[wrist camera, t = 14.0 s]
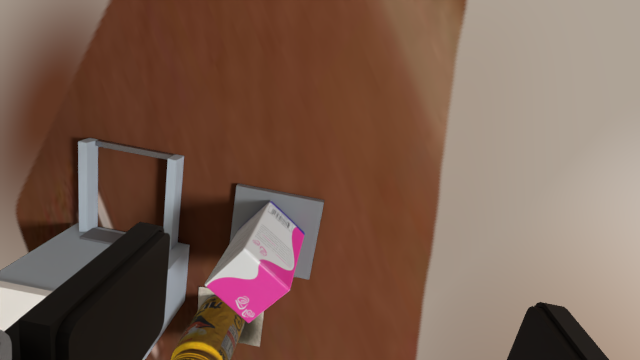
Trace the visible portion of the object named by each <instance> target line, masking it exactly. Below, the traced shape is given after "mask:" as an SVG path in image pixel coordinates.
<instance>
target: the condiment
mask: <svg viewBox="0 0 640 360" xmlns="http://www.w3.org/2000/svg"><path fill="white" fill-rule="evenodd" d="M263 314H264V311H263V312H262V313H261V314H259V315H258V316H257V317H256V318H255V319H253V320H252V321H251V322H250V323H248V322H246V321H245V320H244V319H243V318H242V317H241V316H240V315H238V314H237V313H236V312H235V311H234V310H233V309H232V308H230V307H229V306H228V305H227V304H226V303H225V302H223V301H222V300H221V299H220V298H219V297H218V296H217V295H215V294H214V293H213V292H212V291H211V290H210V289H208V288H205V287H199V293H198V312H197V313H196V315H195V316H194V318H193V320H192V321H191V323H190V325H189V327H188V329H187V330H186V332H185V333H184V335H183V337H182V338H181V340H180V342H179V343H178V345H177V346H176V348H175V349H174V352H173V354H172V357H171V360H231V358H232V355H233V353H234V350H235V348H236V345H237V343H238V342H239V343H245V344H249V345H253V346H260V340H261V332H262V324H263Z"/></svg>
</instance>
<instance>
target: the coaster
mask: <svg viewBox="0 0 640 360" xmlns="http://www.w3.org/2000/svg"><path fill="white" fill-rule="evenodd" d="M269 201H272V202H273V203H274V204H275V205H276V206H277V207H279V208H280V209H281V210H282V211H283V212H284V213H285V214H286V215H287V216H288V217H289V218H290V219H291V220H292V221H293V222H294V223H295V224H296V225H297V226H298V227H299V228H300V229H301V230H302V231H303V232H304V233H305V236H304V239H303V243H302V246H301V250H300V254H299V258H298V261H297V265H296V269H295V272H294V277H299V278H304V279H309V277H310V272H311V267H312V262H313V256H314V251H315V246H316V241H317V236H318V231H319V225H320V220H321V215H322V210H323V205H324V200H321V199H316V198H311V197H306V196H301V195H295V194H290V193H285V192H280V191H275V190H270V189H264V188H259V187H254V186H249V185H244V184H239V183H238V184H237V186H236V193H235V202H234V210H233V219H232V227H231V236H230V243H231V241H232V240H233V238H234V236H235V235H236V233H237V231H238V230H239V229H240V228H241V227H242V226H243V225H244V224H245V223H246V222H247V221H248V220H249V219H251V218H252V217H253V216H254V215H255V214H256V213H257V212H258V211H259V210H260V209H262V208H263V207H264V206H265V205H266V204H267V203H268V202H269Z"/></svg>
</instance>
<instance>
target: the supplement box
mask: <svg viewBox="0 0 640 360" xmlns="http://www.w3.org/2000/svg"><path fill="white" fill-rule="evenodd" d="M304 236H305V233H304V232H303V231H302V230H301V229H300V228H299V227H298V226H297V225H296V224H295V223H294V222H293V221H292V220H291V219H290V218H289V217H288V216H287V215H286V214H285V213H284V212H283V211H282V210H281V209H280V208H279V207H277V206H276V205H275V204H274V203H273V202H272V201H269V202H268V203H267V204H266V205H265V206H264V207H263V208H262V209H260V210H259V211H258V212H257V213H256V214H255V215H254V216H253V217H252V218H251V219H249V220H248V221H247V222H246V223H245V224H244V225H243V226H242V227H241V228H240V229H239V230H238V231H237V233H236V235H235V236H234V238H233V240H232V241H231V243H230V244H229V246H228V248H227V249H226V251H225V252H224V254H223V256H222V257H221V259H220V260H219V262H218V264H217V265H216V267H215V268H214V270H213V272H212V273H211V275H210V276H209V278H208V280H207V281H206V283H205V286H206V287H207V288H208V289H210V290H211V291H212V292H213V293H214V294H215V295H217V296H218V297H219V298H220V299H221V300H222V301H223V302H225V303H226V304H227V305H228V306H229V307H230V308H232V309H233V310H234V311H235V312H236V313H237V314H238V315H240V316H241V317H242V318H243V319H244V320H245V321H246V322H248V323H250V322H251V321H252V320H253V319H255V318H256V317H257V316H258V315H259V314H261V313H262V312H263V311H264V310H266V309H267V308H268V307H269V306H271V305H272V304H273V303H274V302H276V301H277V300H278V299H279V298H281V297H282V296H283V295H285V294H286V293H287V292H288V291H290V288H291V284H292V280H293V276H294V272H295V269H296V265H297V261H298V258H299V254H300V250H301V246H302V243H303V239H304Z"/></svg>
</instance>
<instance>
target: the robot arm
mask: <svg viewBox="0 0 640 360" xmlns="http://www.w3.org/2000/svg"><path fill="white" fill-rule="evenodd" d="M169 248H170V235H169V233H164V228H163V227H162V226H158V225H153V224H148V223H143V222H139V223H137V224H136V225H135V226H134V227H132V228H131V229H130V230H129V231H127V232H126V233H125V234H124V235H122V236H121V237H120V238H119V239H118V240H116V241H115V242H114V243H113V244H111V245H110V246H109V247H108V248H106V249H105V250H104V251H103V252H101V253H100V254H99V255H98V256H96V257H95V258H94V259H93V260H91V261H90V262H89V263H88V264H86V265H85V266H84V267H83V268H81V269H80V270H79V271H78V272H77V273H75V274H74V275H73V276H72V277H70V278H69V279H68V280H67V281H65V282H64V283H63V284H62V285H60V286H59V287H58V288H57V289H55V290H54V291H53V292H52V293H50V294H49V295H48V296H47V297H45V298H44V299H43V300H42V301H40V302H39V303H38V304H37V305H35V306H34V307H33V308H32V309H31V310H29V311H28V312H27V313H26V314H24V315H23V316H22V317H21V318H19V319H18V320H17V321H16V322H15V323H14V324H13V325H11V326H10V327H9V328H8V329H6V330H5V331H2V330H0V360H142V359H143V358H144V356H145V355H146V353H147V352H148V350H149V349H150V348H151V346H152V345H153V343H154V342H155V340H156V339H157V337H158V336H159V334H160V332H161V330H162V327H163V324H164V318H165V304H166V290H167V276H168V262H169ZM507 360H609V359H608V358H607V357H606V355H605V354H604V353H603V352H602V351H601V349H600V348H599V347H598V346H597V345H596V343H595V342H594V341H593V340H592V339H591V337H589V335H588V334H587V333H586V332H585V330H584V329H583V328H582V327H581V326H580V324H579V323H578V322H577V321H576V320H575V318H574V317H573V316H572V315H571V314H570V312H569V311H568V310H567V309H566V308H565V307H562V306H557V305H552V304H547V303H542V302H540V303H537V304H536V305H535V306H534V307H533V306H532V307H530V308H529V309H528V310H527V312H526V314H525V317H524V319H523V322H522V324H521V326H520V329H519V331H518V334H517V336H516V339H515V341H514V344H513V346H512V349H511V351H510V353H509V356H508V359H507Z"/></svg>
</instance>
